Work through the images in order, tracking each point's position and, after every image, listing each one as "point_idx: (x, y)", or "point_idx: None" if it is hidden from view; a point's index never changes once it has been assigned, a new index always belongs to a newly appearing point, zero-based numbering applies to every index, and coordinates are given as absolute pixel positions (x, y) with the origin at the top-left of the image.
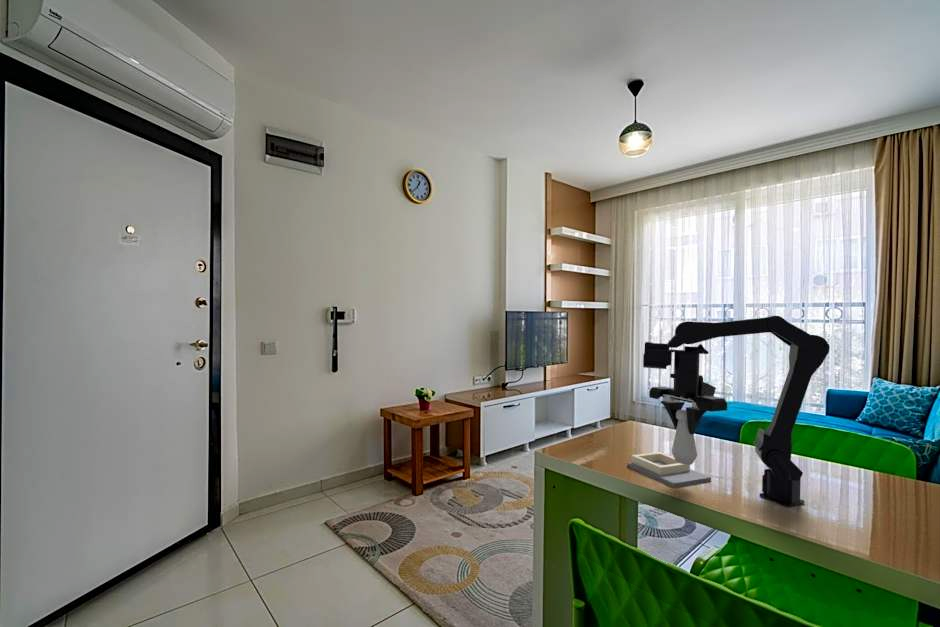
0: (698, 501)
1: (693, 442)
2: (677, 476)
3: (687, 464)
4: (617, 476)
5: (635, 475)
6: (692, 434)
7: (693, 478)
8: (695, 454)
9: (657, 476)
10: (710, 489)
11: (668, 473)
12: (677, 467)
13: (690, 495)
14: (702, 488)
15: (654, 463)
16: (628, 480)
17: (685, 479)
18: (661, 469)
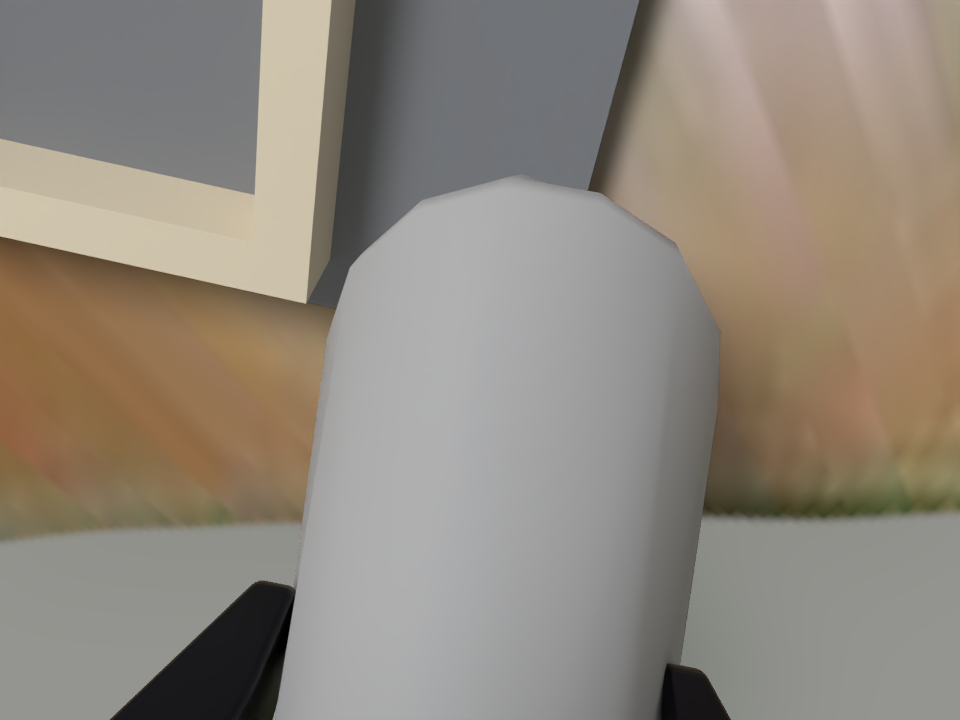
0: (840, 440)
1: (691, 532)
2: (441, 132)
3: None
4: (139, 481)
5: (167, 347)
6: (669, 653)
7: (588, 16)
8: (717, 393)
9: (332, 305)
10: (823, 45)
11: (337, 152)
12: (337, 16)
13: (737, 378)
14: (745, 100)
15: (164, 235)
16: (244, 486)
17: (550, 146)
18: (313, 285)
